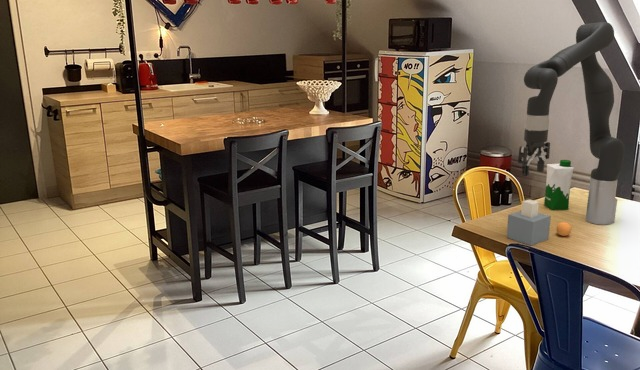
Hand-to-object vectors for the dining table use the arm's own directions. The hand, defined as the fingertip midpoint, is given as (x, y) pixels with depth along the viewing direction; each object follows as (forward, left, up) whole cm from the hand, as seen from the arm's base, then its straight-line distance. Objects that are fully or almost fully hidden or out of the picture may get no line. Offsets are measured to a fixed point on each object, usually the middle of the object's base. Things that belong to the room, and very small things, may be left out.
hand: (532, 173), depth 193 cm
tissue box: (0, 0, -24) cm, 24 cm away
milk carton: (-27, -31, -24) cm, 48 cm away
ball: (-14, -1, -22) cm, 26 cm away
